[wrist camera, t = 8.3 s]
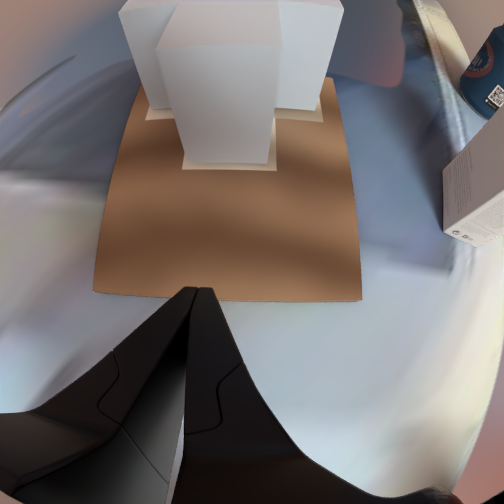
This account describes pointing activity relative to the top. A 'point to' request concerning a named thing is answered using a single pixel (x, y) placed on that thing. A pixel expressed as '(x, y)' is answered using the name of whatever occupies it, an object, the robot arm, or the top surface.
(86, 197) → the top surface
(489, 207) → the skincare box
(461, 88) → the soda can
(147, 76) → the white block
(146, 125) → the brown board
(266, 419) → the robot arm
